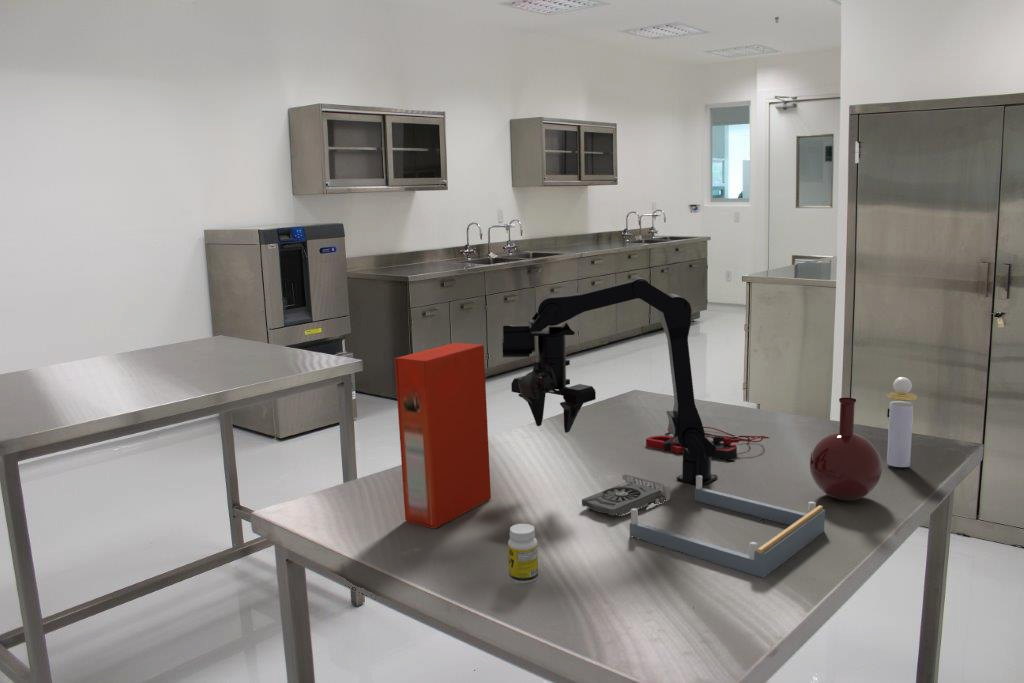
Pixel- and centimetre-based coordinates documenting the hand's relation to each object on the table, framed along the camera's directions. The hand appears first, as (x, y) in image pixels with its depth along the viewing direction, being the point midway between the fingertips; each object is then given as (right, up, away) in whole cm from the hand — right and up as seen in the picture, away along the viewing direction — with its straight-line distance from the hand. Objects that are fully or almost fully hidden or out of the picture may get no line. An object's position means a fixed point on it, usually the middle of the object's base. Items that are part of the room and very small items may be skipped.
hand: (552, 429), depth 171 cm
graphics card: (+13, -14, -9) cm, 22 cm away
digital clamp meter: (+39, -7, +27) cm, 48 cm away
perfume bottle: (+75, -9, +6) cm, 76 cm away
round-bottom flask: (+57, -13, -11) cm, 59 cm away
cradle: (+29, -16, -25) cm, 42 cm away
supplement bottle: (-7, -20, -40) cm, 45 cm away
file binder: (-21, -15, -10) cm, 28 cm away
